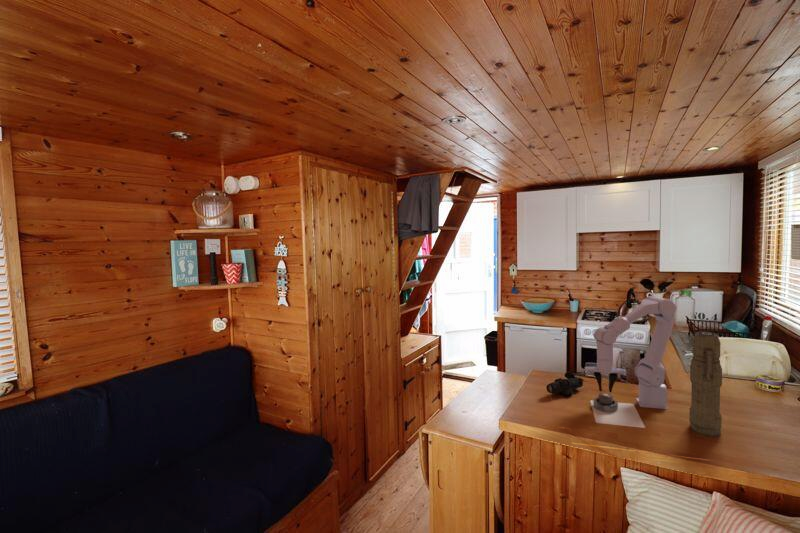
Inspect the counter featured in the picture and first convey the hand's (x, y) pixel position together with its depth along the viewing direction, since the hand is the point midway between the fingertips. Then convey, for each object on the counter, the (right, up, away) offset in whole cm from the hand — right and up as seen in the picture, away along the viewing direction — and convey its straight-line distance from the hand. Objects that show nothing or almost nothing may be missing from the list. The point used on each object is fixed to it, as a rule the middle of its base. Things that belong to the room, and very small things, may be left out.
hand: (605, 390), depth 156 cm
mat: (+2, -8, -4) cm, 9 cm away
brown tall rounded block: (+25, -8, -19) cm, 33 cm away
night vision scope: (-9, -7, +16) cm, 20 cm away
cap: (0, -6, 0) cm, 6 cm away
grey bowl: (0, -7, +1) cm, 7 cm away
